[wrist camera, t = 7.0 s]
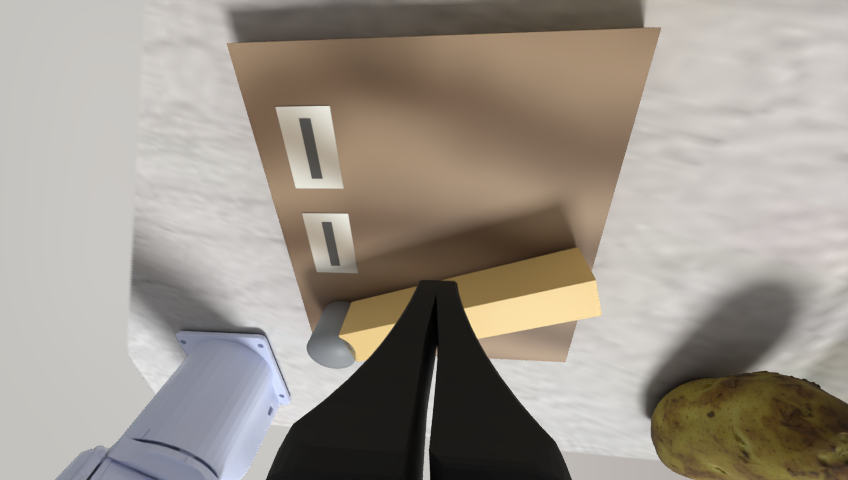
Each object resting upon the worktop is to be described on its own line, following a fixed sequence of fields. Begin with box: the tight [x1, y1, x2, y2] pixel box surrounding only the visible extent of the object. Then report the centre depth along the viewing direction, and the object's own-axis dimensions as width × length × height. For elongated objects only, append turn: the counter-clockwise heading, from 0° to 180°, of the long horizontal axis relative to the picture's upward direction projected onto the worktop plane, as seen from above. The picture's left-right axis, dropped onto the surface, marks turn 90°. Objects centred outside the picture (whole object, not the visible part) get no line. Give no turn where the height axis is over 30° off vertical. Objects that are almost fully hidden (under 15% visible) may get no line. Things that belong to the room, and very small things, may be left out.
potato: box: [651, 371, 848, 480], centre depth 24 cm, size 8×13×8 cm, turn 143°
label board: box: [227, 28, 661, 362], centre depth 21 cm, size 21×19×2 cm
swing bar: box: [307, 247, 602, 369], centre depth 21 cm, size 18×3×3 cm, turn 111°
